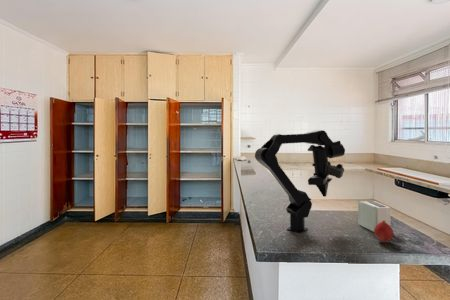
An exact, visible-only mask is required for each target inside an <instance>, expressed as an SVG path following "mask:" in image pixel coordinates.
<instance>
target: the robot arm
mask: <svg viewBox="0 0 450 300" xmlns="http://www.w3.org/2000/svg"><path fill="white" fill-rule="evenodd" d="M285 144H310V146H309V147H308V149H307V152H312V158H313V163H312V167H314V172H313V175H312V176H310V177H309V178H308V180H307V185H308V186H315V187H317V189H318V190H319V192H320V193H321V196H322V197H324V198H325V197H327V194H328V186H329V183H330V182H331V181H332V180H333V177H335V178H337V179H342V177H343V175H344V172H345V168H344V167H343V164H341V163H338V164H336V165H333V164H332V163H331V161H330V160H329V159H334V158H339V157H343V156H344V155H345V153H346V149H345V147H344V145H343V144H342V143H341V141H340V140H334V141H333V140H332V139H331V138H330V136H328V133H327V132H326V131H325V130H312V131H307V132H304V133H296V134H294V133H293V134H292V133H290V134H273V135H272V136H271V137H270V139H268V140H267V141H266V142H265V143H264V144H263V145H262V146H261V147H260V148H257V149H256V150H255V152H254V153H255V154H254V158H255V160H256V161H257V162H258V163H259V164H260V165H262V166H263V167H264V168H265V169H267V170H268V171H269V172H270V174H271V176H273V178H275V180H276V181H277V183H278V184H279V185H280V186H281V188H282V189H283V190H284V192H285V193H286V195H287V196H288V201H289V204H288V206H286V208H285V210H286V213H287V214H289V219H290V220H289V222H290V223H289V225H290V226H289V227H288V228H286V230H287V231H291V232H295V233H299V234H302V233H304V232H306V231H307V230H309V228H308V227H305V224H306V222H305V221H306V220H305V219H306V218H308V217H309V214H310V212H311V209H312V208H313V207H312V206H313V203H312V198H310V197H309V195H308V194H307V191H306V192H305V191H303V190H300V189H297V187H296V186H295V185H294V183H293V182H292V181H291V179H290V178H289V177H288V174H286V173H285V171H284V170H283V168H282V167H281V165H279V161H278V158H277V153H278V152H279V151H280V149H281V147H282V145H285ZM329 176H333V177H329Z"/></svg>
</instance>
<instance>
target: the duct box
mask: <svg viewBox="0 0 450 300" xmlns="http://www.w3.org/2000/svg"><path fill="white" fill-rule="evenodd" d="M362 202H365V203H367V204H370V205H373V206H376V225H377V224H379V223H380V222H382V221H383V220H385V222H386V223H387V224H388V225H389V226H390V227H391V207H390V206H388V205H385V204H383V203H381V202H378V201H375V200H367V201H366V200H365V201H364V200H363V201H362Z"/></svg>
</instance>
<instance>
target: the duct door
mask: <svg viewBox="0 0 450 300" xmlns="http://www.w3.org/2000/svg"><path fill="white" fill-rule="evenodd" d="M357 204H358V209H357V210H358V211H357V212H358V213H357V214H358V215H357V216H358V223H357V224H358V225H359V226H361V227H363V228H365V229H367V230H369V231H371V232H372V233H374V229H375V227H376V206H373V205H370V204H367V203H365V202H363V201H361V200H358V202H357Z"/></svg>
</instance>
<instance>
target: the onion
mask: <svg viewBox="0 0 450 300" xmlns="http://www.w3.org/2000/svg"><path fill="white" fill-rule="evenodd" d="M373 233H374V235H375V237H377V239H379V240H380V241H381V242H382V243H386V242H387V241H389V240H390V239H392V238H393V237H394V230H393V228H392V227H391V225H390V226H389V225H388V224H387V223H386V222H385V220H383V221H382V222H380V223H379V224H377V225H376V227H375V229H374V232H373Z"/></svg>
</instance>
